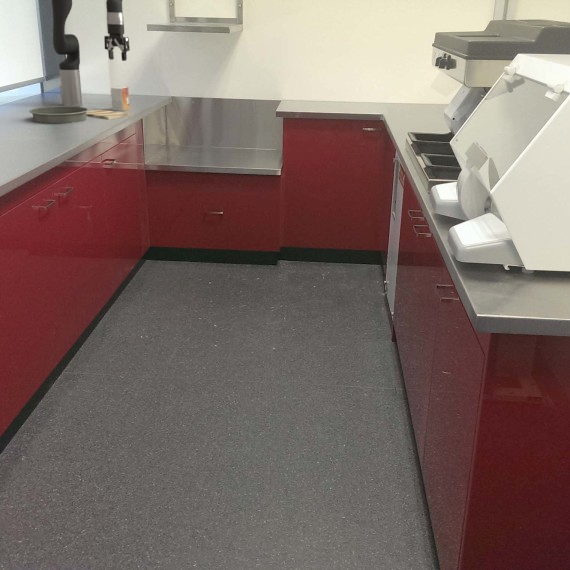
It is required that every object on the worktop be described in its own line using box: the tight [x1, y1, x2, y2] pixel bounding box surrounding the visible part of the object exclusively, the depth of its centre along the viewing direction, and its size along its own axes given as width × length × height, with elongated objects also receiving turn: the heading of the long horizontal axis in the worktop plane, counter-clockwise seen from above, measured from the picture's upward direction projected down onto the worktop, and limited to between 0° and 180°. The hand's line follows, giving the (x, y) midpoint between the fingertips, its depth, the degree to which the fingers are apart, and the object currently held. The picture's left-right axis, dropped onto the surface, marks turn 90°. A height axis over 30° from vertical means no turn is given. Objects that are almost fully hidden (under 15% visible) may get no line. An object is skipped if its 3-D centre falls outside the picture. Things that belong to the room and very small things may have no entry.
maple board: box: [86, 109, 132, 120], centre depth 308 cm, size 20×13×1 cm, turn 55°
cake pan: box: [28, 105, 90, 124], centre depth 294 cm, size 25×25×4 cm
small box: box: [110, 86, 130, 112], centre depth 324 cm, size 8×6×10 cm
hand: (117, 60), depth 317 cm, fingers open, 8 cm apart
